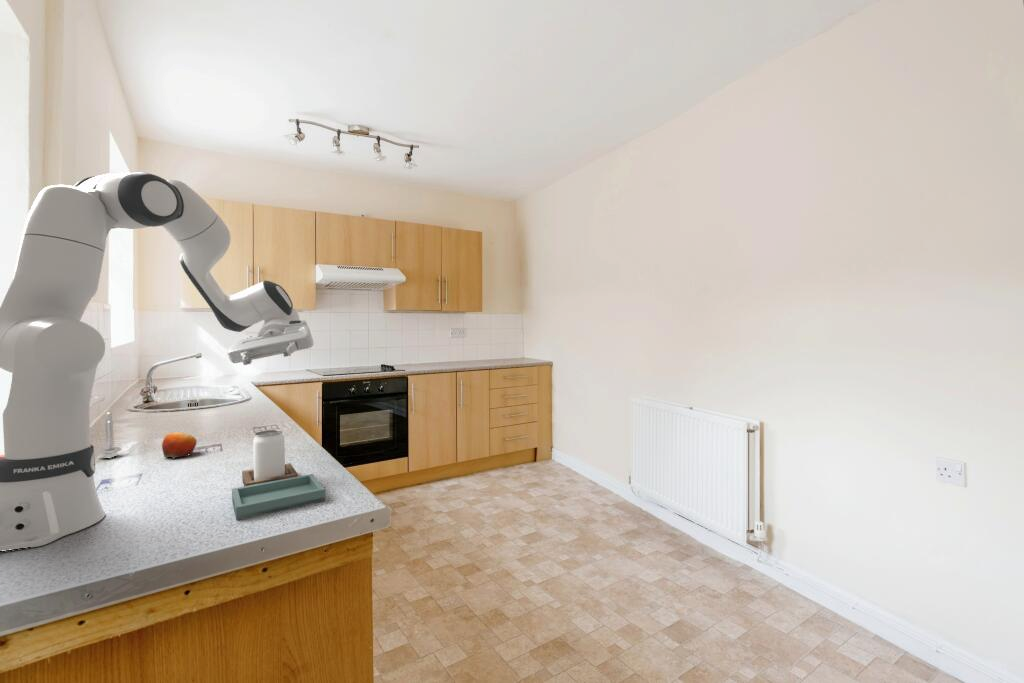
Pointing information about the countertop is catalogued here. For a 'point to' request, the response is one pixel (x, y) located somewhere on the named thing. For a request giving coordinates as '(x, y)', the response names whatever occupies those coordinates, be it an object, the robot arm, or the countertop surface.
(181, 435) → the fruit
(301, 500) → the tray
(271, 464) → the can
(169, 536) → the countertop surface
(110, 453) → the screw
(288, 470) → the collar
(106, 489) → the countertop surface
